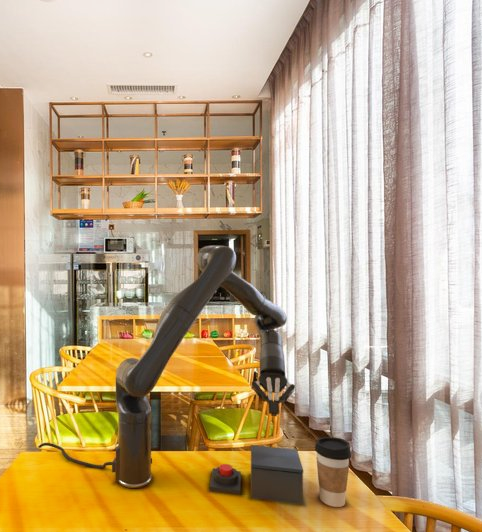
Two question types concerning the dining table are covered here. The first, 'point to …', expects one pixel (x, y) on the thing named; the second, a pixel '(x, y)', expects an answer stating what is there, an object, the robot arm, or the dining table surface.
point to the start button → (226, 470)
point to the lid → (275, 459)
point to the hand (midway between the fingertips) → (274, 415)
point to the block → (226, 482)
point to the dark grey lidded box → (277, 485)
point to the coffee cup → (332, 469)
